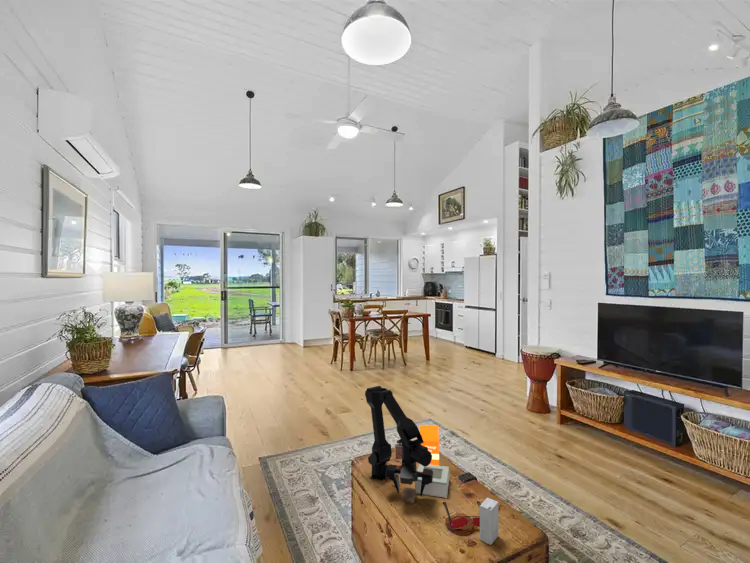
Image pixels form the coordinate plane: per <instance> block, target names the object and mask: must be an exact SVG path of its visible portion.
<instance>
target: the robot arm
mask: <svg viewBox="0 0 750 563" xmlns="http://www.w3.org/2000/svg"><path fill="white" fill-rule="evenodd" d="M364 392H365V393H364V397H365V400H366V403H367V404H368V406H369V407H370V411H371V420H372V429H373V430H372V431H373V437H374V438H373V440H374V441H373V444H372V446H371V454H370V455H369V456H368V457H367V460H368V461H367V462H368V464H370V465H371V476H370V479H374V480H380V481H385V480H386V478H387V479H388V480H389V481H392V483H393V485H394V486H395V490H396V492H397V494H400V483H401V485H403V484H405V485H409V486H410V485H411V486H412V485H413V483H415V481H418V477H422V482H421V492H420V494H419V495H420V498H421V497H422V496H423V494H422V493H423V490H424V487H425V485H428V484H429V483H432V481H433V470H431V469H423V472H418V471H417V464H418V465H419V464H421V465H422V466H424V467H426V466H428V465H429V464H430V463H431V460H432V455H431V452H430V451H428V448H427V447H425V446H423V445H421V444H422V443H424V441H423V439H422V438H423V437H422V436H421V434H420V428H419V426H418V425H417V424H416V423H415V421H413V419H411V418H409V417H408V416H407V415H406V414H405V412H404V411H403V409H402V407H401V406H400V405H399V403H398V401H397V400H396V398H395V396H394V394H393V391H392V390H391V389H388V388H386V387H382V386H381V385H375V386H372V387H368V388H366V390H365V391H364ZM383 404H384V406H385V407H386V410H387V411H388V413H389V415H390V416H391V418H392V419H393V421H394V422H395V424H396V432H397V433H398V436H399V438H400V439H397V440H398V441H399V442H400V443H401V444H402V462H401V466H400V468H398V465H396V464H388V463H389V462H390V461H391V458H392V454H393V452H392V445H391V443H390V442H388V441H387V438H386V430H385V425H384V424H385V421H384V413H383ZM413 439H414V440H413Z"/></svg>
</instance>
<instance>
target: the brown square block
mask: <svg viewBox="0 0 750 563" xmlns="http://www.w3.org/2000/svg"><path fill="white" fill-rule="evenodd" d="M416 498H417V494H416V489H415V488H412V487H405V486H404V487H403V489H402V492H401V501H402V502H406V503H412V504H414V503H415V501H416Z"/></svg>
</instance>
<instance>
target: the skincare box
mask: <svg viewBox="0 0 750 563" xmlns="http://www.w3.org/2000/svg"><path fill="white" fill-rule="evenodd" d="M479 516H480V527H479V540H480V541H482V542H483V543H485V544H487V545H490V546H491V545H492V544H493V543H494V542H495V541H496V539H497V538H498V537H499V501H497V500H494V499H492V498H489V497H486V498H485V500H483V502H482V503H481V505H480V504H479Z"/></svg>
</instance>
